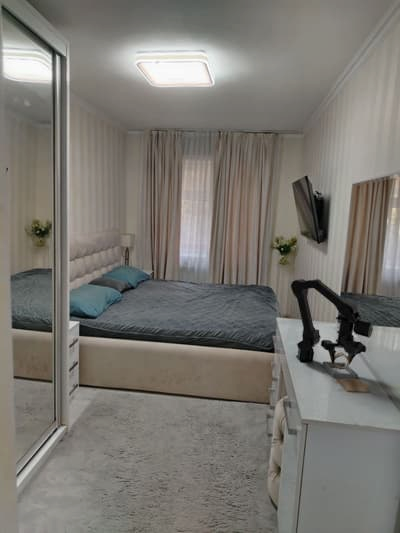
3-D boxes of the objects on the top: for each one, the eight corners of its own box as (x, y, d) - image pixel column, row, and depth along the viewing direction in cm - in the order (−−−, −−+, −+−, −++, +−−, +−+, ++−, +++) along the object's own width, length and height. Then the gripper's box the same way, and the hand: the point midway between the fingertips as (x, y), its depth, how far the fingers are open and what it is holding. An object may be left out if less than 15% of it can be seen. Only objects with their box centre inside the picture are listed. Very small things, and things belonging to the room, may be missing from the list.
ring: (331, 369, 165) (334, 352, 164) (331, 366, 168) (333, 349, 167) (348, 372, 164) (351, 355, 162) (347, 369, 167) (350, 352, 165)
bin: (333, 377, 160) (334, 373, 159) (322, 365, 172) (323, 361, 172) (357, 379, 160) (358, 374, 160) (344, 366, 173) (344, 362, 173)
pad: (346, 391, 148) (347, 390, 148) (336, 379, 158) (336, 378, 158) (370, 392, 149) (370, 391, 149) (358, 380, 159) (358, 379, 159)
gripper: (333, 336, 154) (327, 370, 157) (375, 338, 156) (369, 373, 158) (322, 327, 165) (317, 359, 168) (362, 329, 167) (357, 362, 169)
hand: (340, 363), depth 166 cm, fingers closed on ring, 7 cm apart
